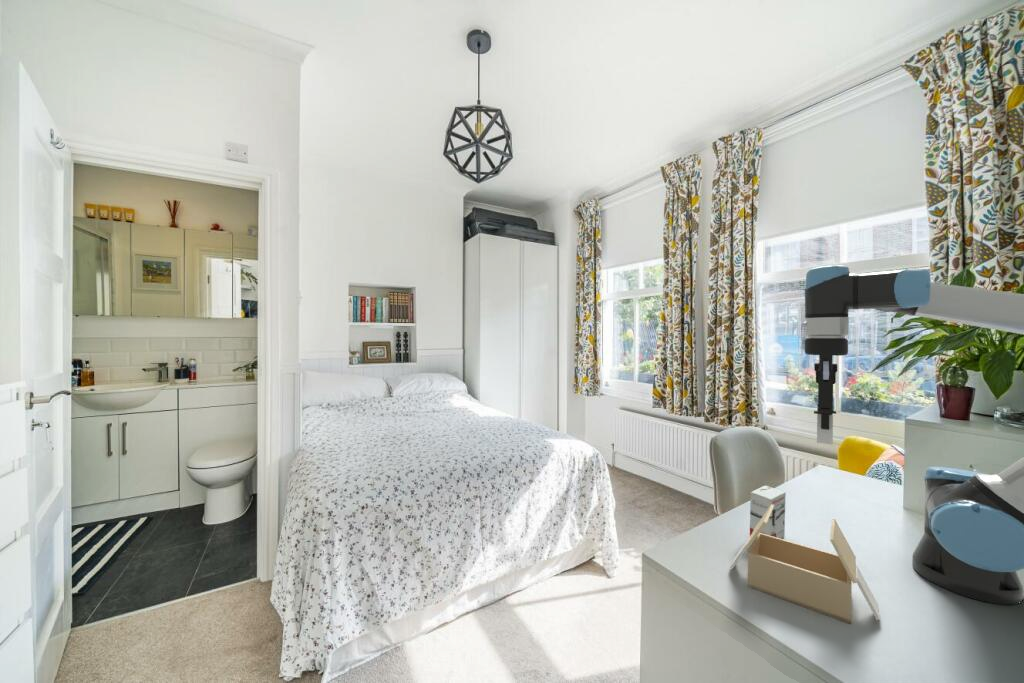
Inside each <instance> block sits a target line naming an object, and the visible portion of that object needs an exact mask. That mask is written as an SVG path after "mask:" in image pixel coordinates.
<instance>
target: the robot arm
mask: <svg viewBox="0 0 1024 683" xmlns="http://www.w3.org/2000/svg"><path fill="white" fill-rule="evenodd" d="M849 310H876V311H880V312H884V313H890V312H891V313H897V314H901V315H907V316H915V317H921V318H926V319H933V320H939V321H944V322H950V323H956V324H961V325H966V326H967V325H968V326H973V327H977V328H978V327H979V328H984V329H990V330H996V331H1002V332H1006V333H1013V334H1018V335H1024V293H1018V292H1009V291H1001V290H994V289H985V288H979V287H972V286H971V287H969V286H963V285H962V286H961V285H956V284H946V283H939V282H938V283H937V282H931V273H930V271H929V270H928V269H926V268H925V269H923V268H917V269H909V268H905V269H902V270H901V269H900V270H899V269H898V270H891V271H888V270H887V271H879V272H868V273H851V272H850V268H849V267H848V266H846V265H826V266H818V267H814V268H811V269H809V270H808V271H807V272H806V276H805V287H804V319H805V320H804V321H805V322H801V327H803V328H804V327H805V328H804V335H805V336H808V337H806V338H805V339H804V354H806V355H807V356H808V355H809V356H818V359H819V360H818V362H814V363H813V366H814V371H815V382H816V384H818V385H817V387H818V391H817V399H818V400H817V404H816V406H817V408H816V409H817V410H813V414H816V420H817V421H816V422H817V423H816V443H817V444H823V445H824V444H825V445H826V444H827V445H834V444H833V440H834V437H833V435H834V434H833V433H834V430H833V429H834V415H835V414H837V410H835V409H834V408H833V407H834V385H835V384H836V380H837V379H836V378H837V377H836V376H837V372H838V364H837V363H834V362H833V356H848V354H849V339H847V338H845V337H846V336H848V335H850V334H849V333H850V332H849V330H850V328H849V326H850V325H849V322H850V320H849V319H850V318H849ZM924 475H925V476H924V477H923V480H924V482H925V483H924V524H923V525H924V528H923V529H924V530H923V532H924V533H923V534H922V537H921V538H920V540H919V542H918V544H917V546H916V548H915V549H914V550H913V553H912V555H911V556H912V561H911V563H912V564H911V565H912V568H913V569H914V571H915V572H916V573H918V574H919V575H920V576H921V577H923V578H924V579H926V580H928V581H929V582H932V583H933V584H935V585H936V586H939V587H941V588H943V589H946V590H949V591H951V592H952V593H956V594H958V595H962V596H964V597H968V598H971V599H974V600H978V601H983V602H987V603H991V604H997V605H1005V604H1014V605H1018V604H1017V603H1019V602H1021V601H1022V600H1023V601H1024V587H1023V586H1024V585H1023V584H1022V581H1021V579H1020V577H1019V574H1018V572H1019V571H1021V570H1023V569H1024V456H1023V457H1021V458H1020V459H1019V460H1017V461H1015V462H1014V463H1012V464H1011V465H1009V466H1008V467H1006V468H1005V469H1003V470H1002V471H1000V472H998V473H996V474H988V473H983V472H978V471H972V470H967V469H961V468H954V467H952V468H951V467H944V466H929V467H927V468H926V469H925V474H924ZM1023 601H1022V602H1023ZM1022 602H1021V603H1022ZM1019 604H1020V603H1019Z"/></svg>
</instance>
